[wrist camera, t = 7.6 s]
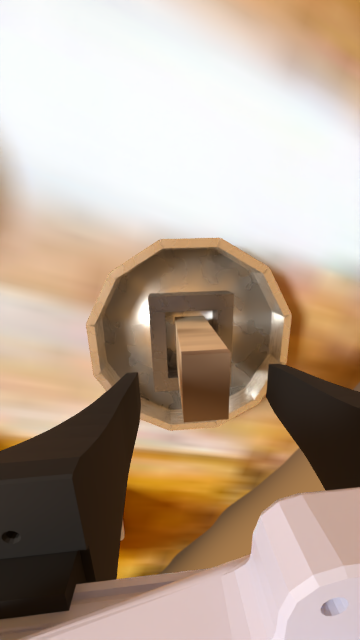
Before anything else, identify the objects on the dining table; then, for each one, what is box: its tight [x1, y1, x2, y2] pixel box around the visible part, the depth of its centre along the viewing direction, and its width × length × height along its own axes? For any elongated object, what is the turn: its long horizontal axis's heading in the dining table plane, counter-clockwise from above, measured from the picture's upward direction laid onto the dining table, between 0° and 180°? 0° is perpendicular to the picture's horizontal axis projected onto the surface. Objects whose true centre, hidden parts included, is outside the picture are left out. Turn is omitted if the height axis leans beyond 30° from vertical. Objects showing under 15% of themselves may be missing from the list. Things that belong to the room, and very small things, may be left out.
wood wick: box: [175, 316, 231, 423], centre depth 15 cm, size 4×2×8 cm, turn 2°
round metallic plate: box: [86, 238, 292, 431], centre depth 18 cm, size 16×16×2 cm
